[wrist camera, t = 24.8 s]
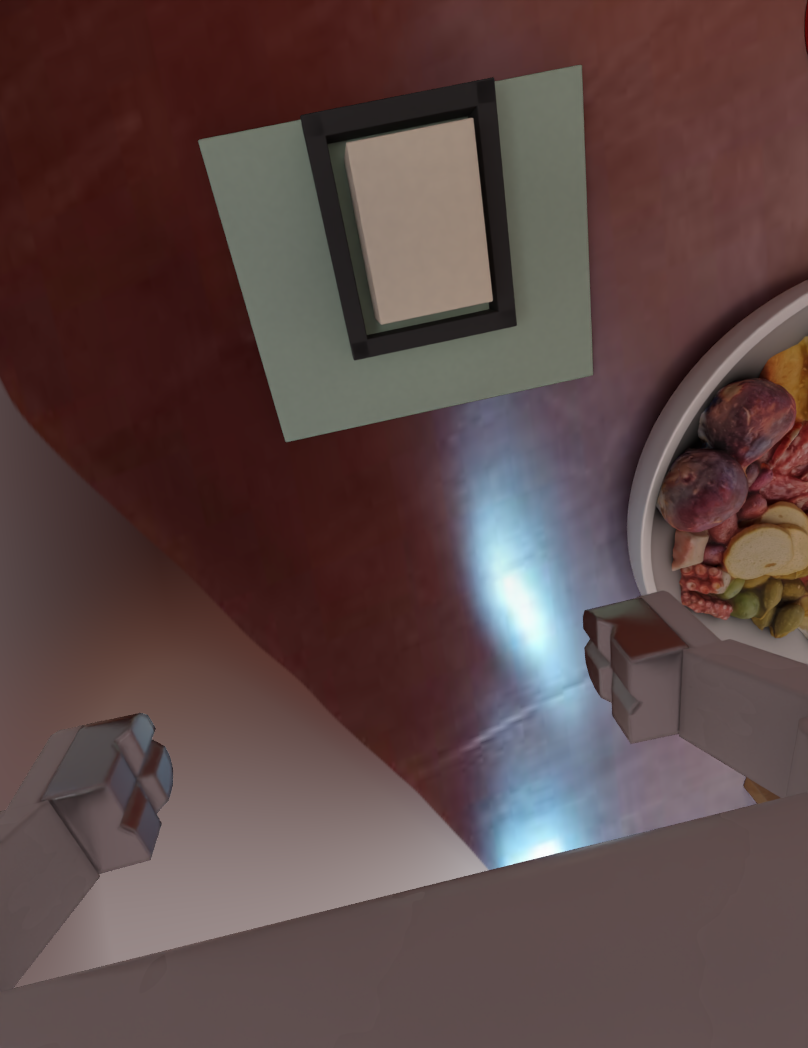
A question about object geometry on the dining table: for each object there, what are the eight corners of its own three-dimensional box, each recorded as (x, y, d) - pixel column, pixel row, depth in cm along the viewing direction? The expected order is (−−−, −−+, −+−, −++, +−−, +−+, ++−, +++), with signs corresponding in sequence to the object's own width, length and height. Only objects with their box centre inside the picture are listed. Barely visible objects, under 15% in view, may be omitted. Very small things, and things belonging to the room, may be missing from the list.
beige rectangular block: (374, 319, 32) (380, 325, 29) (343, 158, 29) (345, 142, 25) (474, 298, 32) (493, 301, 29) (455, 136, 29) (473, 117, 25)
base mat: (286, 438, 35) (283, 452, 33) (201, 144, 29) (188, 130, 26) (587, 372, 36) (608, 381, 33) (574, 70, 29) (599, 49, 27)
